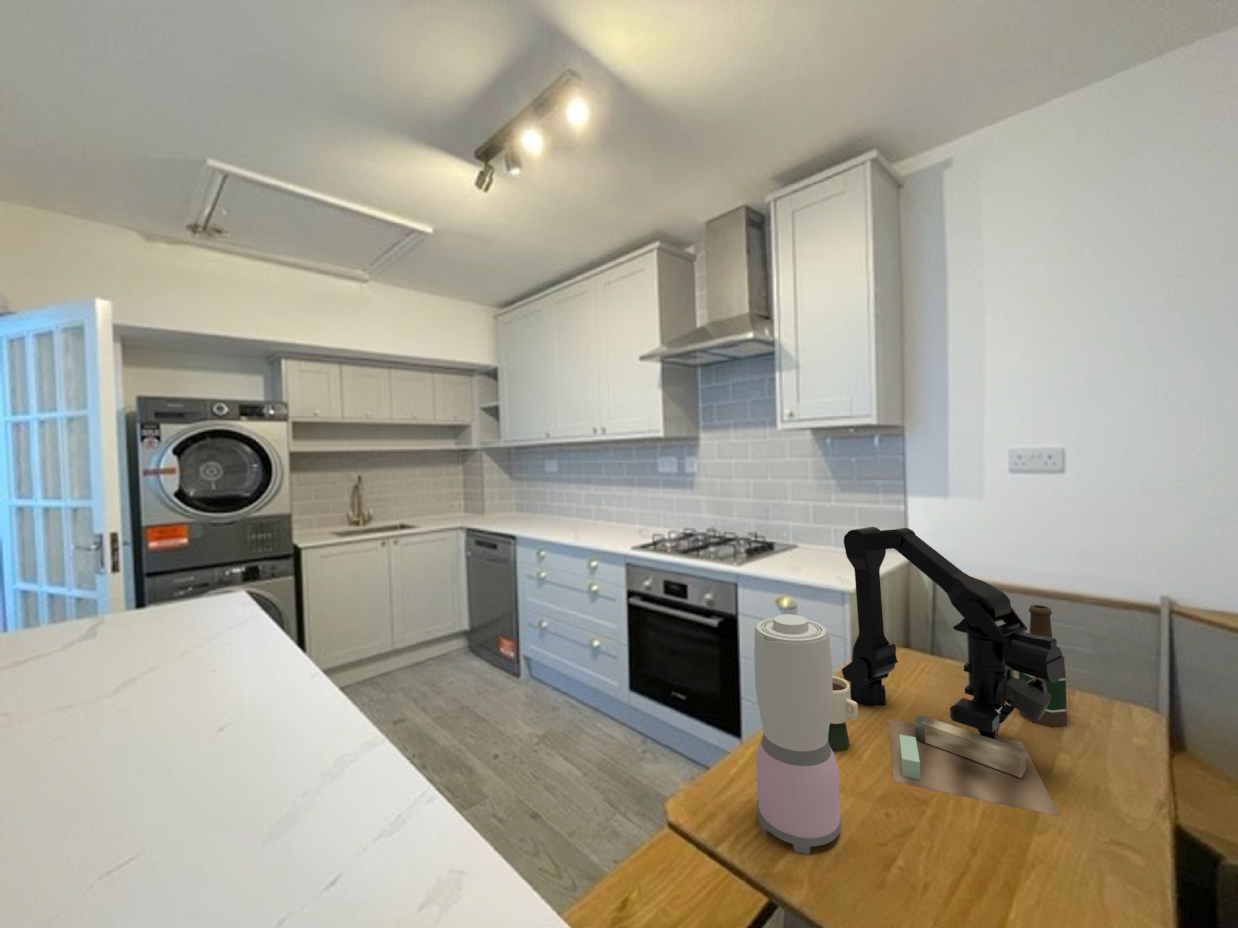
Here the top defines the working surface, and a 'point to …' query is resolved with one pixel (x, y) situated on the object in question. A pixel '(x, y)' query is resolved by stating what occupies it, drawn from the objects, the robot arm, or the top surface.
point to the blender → (796, 733)
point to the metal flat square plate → (970, 775)
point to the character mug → (841, 715)
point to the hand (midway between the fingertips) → (990, 745)
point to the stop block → (909, 757)
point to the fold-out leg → (971, 745)
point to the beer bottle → (1057, 706)
